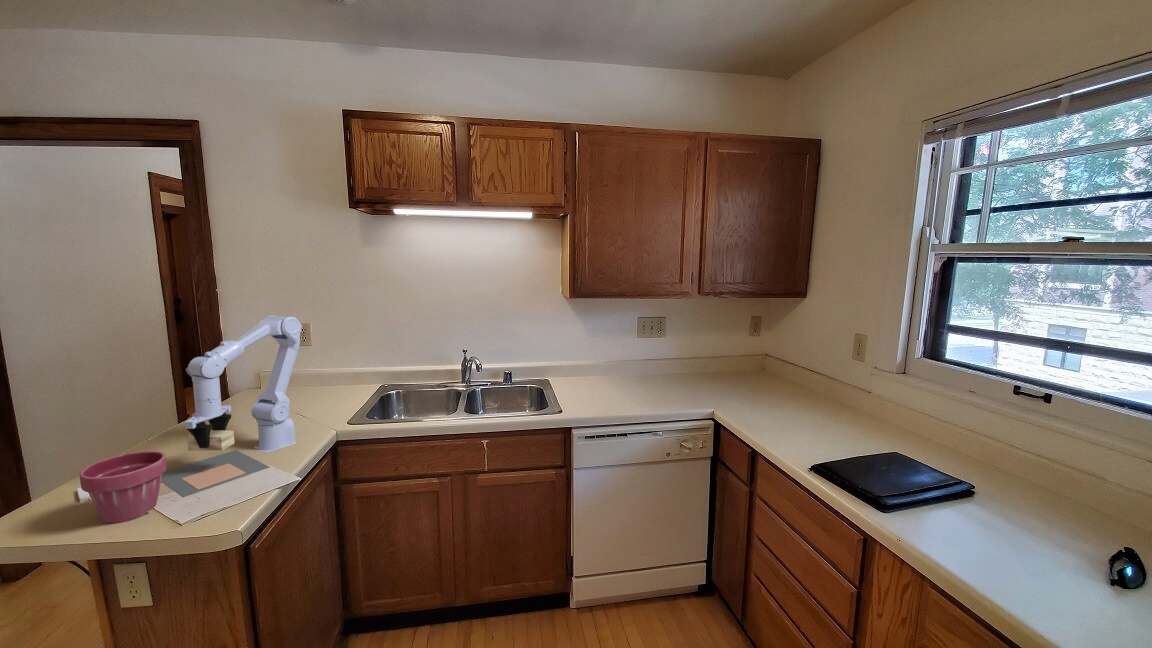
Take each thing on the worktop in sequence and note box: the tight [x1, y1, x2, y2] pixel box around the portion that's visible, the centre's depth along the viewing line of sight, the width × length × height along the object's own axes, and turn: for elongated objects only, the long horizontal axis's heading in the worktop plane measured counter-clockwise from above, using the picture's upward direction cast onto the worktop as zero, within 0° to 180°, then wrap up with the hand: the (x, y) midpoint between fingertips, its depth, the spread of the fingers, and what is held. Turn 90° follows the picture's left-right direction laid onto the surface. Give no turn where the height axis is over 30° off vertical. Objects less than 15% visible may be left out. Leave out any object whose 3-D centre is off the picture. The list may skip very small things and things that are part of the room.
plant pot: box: [79, 450, 168, 524], centre depth 102 cm, size 14×14×13 cm
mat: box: [161, 449, 271, 498], centre depth 123 cm, size 20×22×1 cm
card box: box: [186, 430, 235, 452], centre depth 123 cm, size 9×5×4 cm, turn 95°
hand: (211, 443), depth 123 cm, fingers closed on card box, 5 cm apart
